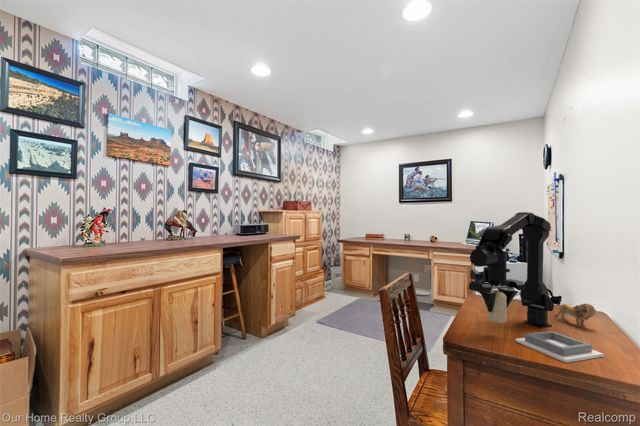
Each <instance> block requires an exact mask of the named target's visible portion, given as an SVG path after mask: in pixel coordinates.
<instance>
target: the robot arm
mask: <svg viewBox="0 0 640 426" xmlns="http://www.w3.org/2000/svg"><path fill="white" fill-rule="evenodd" d="M551 228H552V227H551V223H550V222H549V221H548V220H546V218H545V217H544V218H543V217H541V216H539V215H535V214H534V213H533V212H530V211H526V212H525V211H522V212H517V213H515V214H514V215H513V216H512V217H511V218H509V219H507V220H506V221H504V222H503V223H502V224H500V225H493V226H491V227H488V228H486V229H484V231H483V233H482V235H481V236H480V237H481V238H480V240H479V242H478V244H477V245H475V249H473V250H472V251H471V252H470V255H469V260H470V263H471V264H473V266H475V267H477V268H479V267H483V271H478V270H477V269H471V270H470V272H469V277H470V279H471V280H472V281H470V282H469V283H468V290H470V291H474V292H477V293H478V294H479V295H481V297H482V298H483V301H484V303H485V307H486V309H487V312H488V311H489V312H492V310H493V306H494V302H495V297H496V293H493V290H498V291H501V292H502V293H504V294H505V295H506V303H507V308H508V307H509V305H510V304H511V303H512V301H513V299H514V298H515V296H516V295H517V294H518V293H519V291H520V293H519V296H520V300H521V305H522V307H527V308H526V320H525V319H523V322H524V323H525V324H528V325H531V326H533V327H534V326H535V327H537V328H547V327H552V326H553V324H551V323H549V322H548V319H549V318H548V317H549V316H548V315H549V314H548V313H549V312H553V311H554V306H555V303H554V302H553V300H552V299H551V297H550V295H549V289H548V287H547V285H545V283H544V243H545V242H546V240H547V239H548V238H549V237H550V231H551ZM520 230H521V231H522V235H523V238H524V239H525V240H526V242H527V255H526V256H527V259H526V260H527V262H526V280H525V281H522V280H517V279H512V278H508V277H507V275H508V274H507V273H510V271H511V270H510V268H507V266H508V264H507V259H508V258H507V256H508V253H509V252H510V249H509V248H508V247H507V246H508V245H509V244H510V242H511V241H512V240H513V235H515V234H516V233H518V232H519V231H520ZM515 289H516V290H515Z"/></svg>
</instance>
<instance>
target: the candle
mask: <svg viewBox="0 0 640 426" xmlns="http://www.w3.org/2000/svg"><path fill="white" fill-rule="evenodd" d="M493 293H496V297H495V302H494V306H493V310H492V312H489V311H488V310H487V320H489V321H490V322H492V323H493V322H494V323H499V324H506V323H507V319H508V317H507V316H508V315H507V311H508V307H507V303H506V295H505V294H504V293H502V292H501V291H498V289H493Z"/></svg>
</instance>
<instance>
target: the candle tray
mask: <svg viewBox="0 0 640 426" xmlns="http://www.w3.org/2000/svg"><path fill="white" fill-rule="evenodd" d="M516 342H517V343H519V344H521V345H523V346H525V347H527V348H529V349H532V350H535V351H537V352H538V353H542V354H544V355H546V356H549V357H551V358H554V359H556V360H559V361H560V362H562V363H565V364H568V363H574V362H579V361H584V360H585V361H586V360H590V359H599V358H603V357H604V353H603V352H600V351H597V350H594V349H593V345H592V344H591V343H588V342H585V341H582V340H579V339H575V338H573V337H570V336H567V335H565V334H561V333H559V332H555V331H553V330H548V331H542V332H541V331H540V332H539V331H538V332H532V333H525V334H524V337H520V338H515V343H516Z"/></svg>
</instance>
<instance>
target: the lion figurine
mask: <svg viewBox="0 0 640 426" xmlns="http://www.w3.org/2000/svg"><path fill="white" fill-rule="evenodd" d="M597 313H598V310H597V309H596V308H595V307H594V306H593V304H591V303H582V304H578V305H575V306H571V304H568V303H562V304H561V306H560V308H559V312H558V313H557V314H554V315H553V316H554V317H559V316H560V321H561V322H564V323H565V322H566V319H567V318H566V317H565V316H567V315H568V316H570V317H572V318H575V323H576V327H577V328H581V327H584V328H585V327H586V324H584V322H585V321H587V320H589V319H591V318H593V317H595V315H596V314H597Z"/></svg>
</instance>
